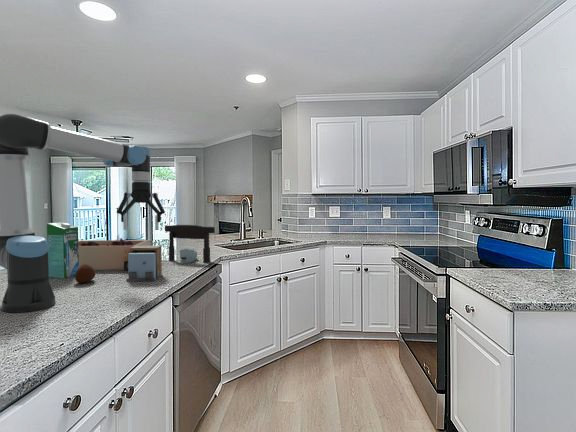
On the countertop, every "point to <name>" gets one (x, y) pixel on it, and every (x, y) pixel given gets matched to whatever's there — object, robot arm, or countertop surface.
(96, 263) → the planter tray
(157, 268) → the cabinet
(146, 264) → the block
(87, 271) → the potato
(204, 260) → the stool
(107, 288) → the countertop surface
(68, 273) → the milk carton
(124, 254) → the ammunition clip
